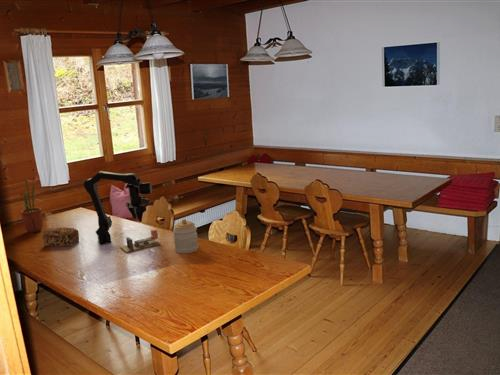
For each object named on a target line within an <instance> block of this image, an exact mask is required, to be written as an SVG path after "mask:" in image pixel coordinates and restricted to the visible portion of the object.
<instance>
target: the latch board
mask: <svg viewBox="0 0 500 375" xmlns="http://www.w3.org/2000/svg"><path fill="white" fill-rule="evenodd" d="M125 238H126V240H125V241H126V245H121V246H120V249H121V250H122V251H123V252H124V253H126V254H130V253H134V252H138V251H141V250H147V249H150V248H154V247H155V248H156V247H159V246H161V245H162V244H161V242H159V241H158V240H157V239H156V240H152V241H147V242H143V243H139V244H135V243H133V242H134V241H133V238H131V237H129V236H127V237H125Z"/></svg>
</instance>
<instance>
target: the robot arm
mask: <svg viewBox="0 0 500 375" xmlns="http://www.w3.org/2000/svg"><path fill="white" fill-rule="evenodd" d="M103 179H104V180H110V181H118V182H122V183H125V184H126V186H125V187H124V189H128V192H129V193H128V194H129V196H128V199H129V201H127V202H126V203H125V206H126V208H127V210H128V211H129V213H130V214H131V216H132V218H133V219H134V220H136V219H137V221H138V222H139V223H141V222H142V220H143V214H144V213H145V212H146V211H147V207H146V206H145V205H147V206H149V205H150V201H151V199H149V198H147V197H146V196H144V195H151V194H153V186H152V183H151V182H150V181H149V182H148V181H147V182H143V181H142V180H141V179H140V178H139V175H138V174H137V173H135V172H129V173H120V172H119V173H118V172H110V171H103V170H101V171H98V172H97V173H96V174H95V175H94V176H92V177H90V178H87V179H86V180H85V181H84V182H83V187H84V189H85V191H86V192H87V193H88V195H89V196H90V198H91V201H92V204H93V207H94V209H95V212H96V214H97V220H98V221H97V223H98V228H97V229H96V230H95V234H96V235H97V239H98V240H97V243H98V244H99V245H105V244H110V243H112V237H111V233H110V228H111V227H112V225H113V221H112V218H111V216H109V215H107V214H106V211H105V208H104V206H103V203H102V201H101V197H100V194H99V192H98V191H99V187H98V186H99V185H98V183H99V182H100V181H101V180H103ZM141 195H142V196H141Z"/></svg>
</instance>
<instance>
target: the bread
mask: <svg viewBox="0 0 500 375" xmlns="http://www.w3.org/2000/svg"><path fill="white" fill-rule="evenodd" d="M79 233H80V232H79V230H78V229H76V228H74V227H67V226H66V227H65V226H63V227H51V228H46V229H45V230H44V231H43V232H42V236H41V237H42V243H43V245H44V246H45V247H48V246H49V247H64V246H73V245H75V243H77V242H79V240H80V234H79Z"/></svg>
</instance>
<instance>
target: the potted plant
mask: <svg viewBox="0 0 500 375" xmlns="http://www.w3.org/2000/svg"><path fill="white" fill-rule="evenodd" d="M28 181H29V182H30V180H29V179H25V185H24V187H26V191H25V192H23V197H22V198H20V199H19V202H20V203H22V201H24V205H23V209H21V210H20V211H19V212H20V215H21V217H22V222H23V227H24V229H25V230H26V231H27V232H28V233H31V234H34V232H35V233H37V232H39V231H41V230H42V228H43V225H44V224H43V221H44V220H43V215H42V214H43V213H42V210H43V208H41V207H35V200H36V201H40V202H42V200H41V199H38V198H35V197H34V196H35V192H37V190H36V189H35V188H36V187H35V184H34V183H33V184H32V188H31V190H32V191H31V195H30V190H29V188H30V187H31V186H30V185H29V184H28ZM31 199H32V203H31Z"/></svg>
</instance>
